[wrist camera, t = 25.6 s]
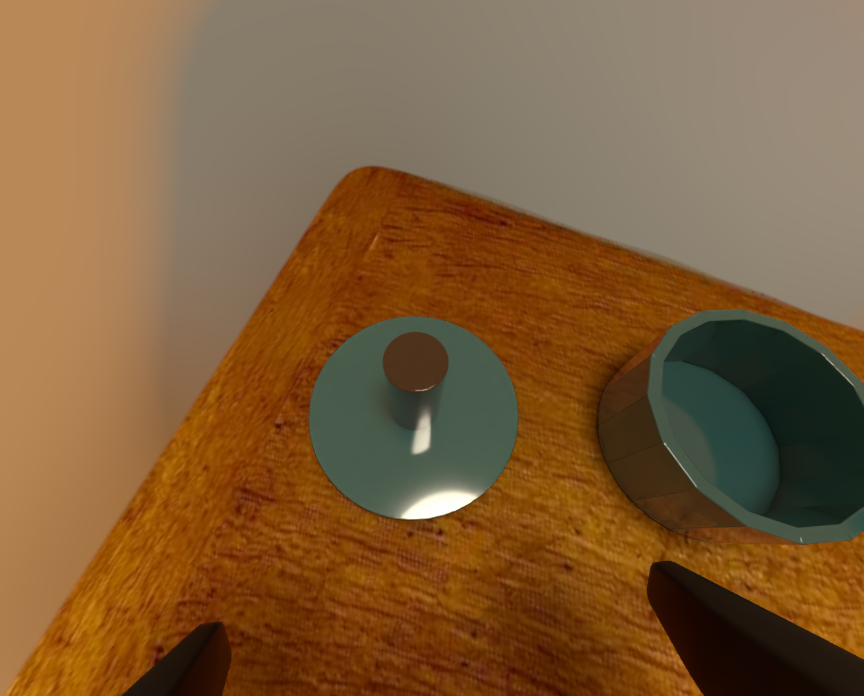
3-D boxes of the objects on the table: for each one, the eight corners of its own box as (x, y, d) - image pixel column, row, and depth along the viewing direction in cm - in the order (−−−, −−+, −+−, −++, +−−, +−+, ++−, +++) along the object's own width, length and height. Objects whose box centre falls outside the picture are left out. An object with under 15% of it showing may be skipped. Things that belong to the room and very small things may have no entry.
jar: (683, 582, 19) (777, 598, 14) (561, 398, 23) (602, 360, 18) (825, 483, 21) (948, 466, 16) (693, 330, 25) (761, 280, 20)
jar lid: (432, 572, 19) (443, 590, 12) (269, 428, 21) (207, 381, 15) (550, 397, 23) (604, 341, 16) (401, 294, 25) (397, 211, 19)
